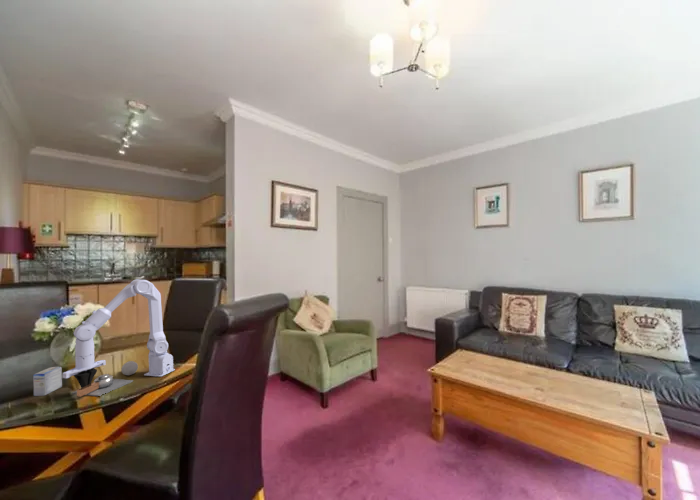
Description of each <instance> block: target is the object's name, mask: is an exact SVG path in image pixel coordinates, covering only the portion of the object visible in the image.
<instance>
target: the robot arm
mask: <svg viewBox="0 0 700 500" xmlns="http://www.w3.org/2000/svg"><path fill="white" fill-rule="evenodd" d="M137 294H138V295H141V296H142V297H144V298H145V299H147V305H148V320H149V321H148V322H149V335H148V340H147V343H146V347H147V349H148V350H149V353H148V372H146V373H144V374H143V375H144V376H149V377H150V376H151V377H161V378H162V377H163V376H165V375H167V374H169V373H171V372H174V371H175V370H176V369H175V368H174V356H173V355H172V354H170V353H169V352H168V349H169V343H168V341H167V339H166V334H165V333H164V325H163V324H164V323H163V310H162V309H163V308H162V293H161V292H160V291H159V289H157V287H156V286H155V285H154V283H153V282H150V281H149V280H147V279H140V278H136V279H134V280H132V281H131V282H130V283H128V284H127V285H126V286H124V288H122V289H121V290H120V291H119V292H118V293H117V294H116V295H115V296H114V297H113V298H112V299H111V300H110V301H109V302H108V303H107V304H106V306H104V307H102V308H97V309H96V310H93V311H92V312H91V313H92V314H91V315H90V316H89V317H88V318H86V320H85V321H84V320H83V321H81V324H80V325H78V326H77V327H75V329H74V331H73V336H74V337H75V341H74V342H75V345H74V351H75V354H74V355H75V357H74V358H75V367H73V368H71V369H68V370H67V371H64V372H62V379H69V378H70V377H74V378H75V379H76V381H77V382H78V384H79V387H80V388H83V387H85V386H87V385H89V384H92V383H93V381H94V377H95V376H96V373H97V372H98V369H96V368H99V367H102V366H106V364H107V363H106V362H107V360H105V359H101V360H98V361H95V342H94V337H95V335H96V332H97V331H98V330H100V329H101V328H102V327H103V326H104V325H105V324H107V323H106V322H108V321H109V320H110V319H111V318H112V313H113V311H115V310H116V309H117V308H118V307H119V306H120V305H122V304H123V303H124V302H125V301H126V300H128V299H129V298H132V297H136V296H137Z"/></svg>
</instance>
